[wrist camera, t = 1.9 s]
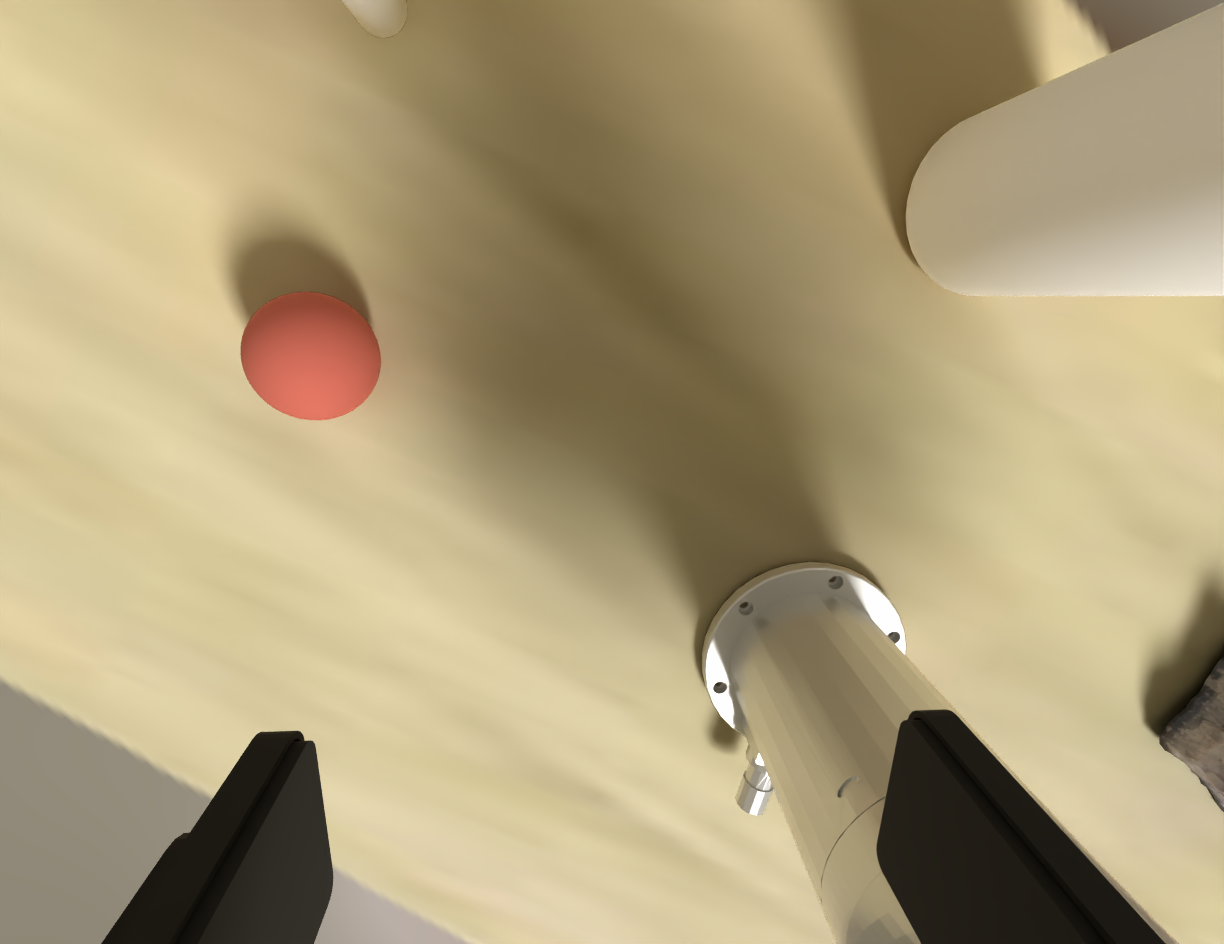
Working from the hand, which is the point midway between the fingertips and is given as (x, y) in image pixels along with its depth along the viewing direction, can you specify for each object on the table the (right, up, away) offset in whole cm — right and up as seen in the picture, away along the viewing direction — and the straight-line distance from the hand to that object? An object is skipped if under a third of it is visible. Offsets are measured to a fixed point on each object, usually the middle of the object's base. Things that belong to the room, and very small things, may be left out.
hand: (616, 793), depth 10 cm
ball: (-14, +11, +20) cm, 27 cm away
